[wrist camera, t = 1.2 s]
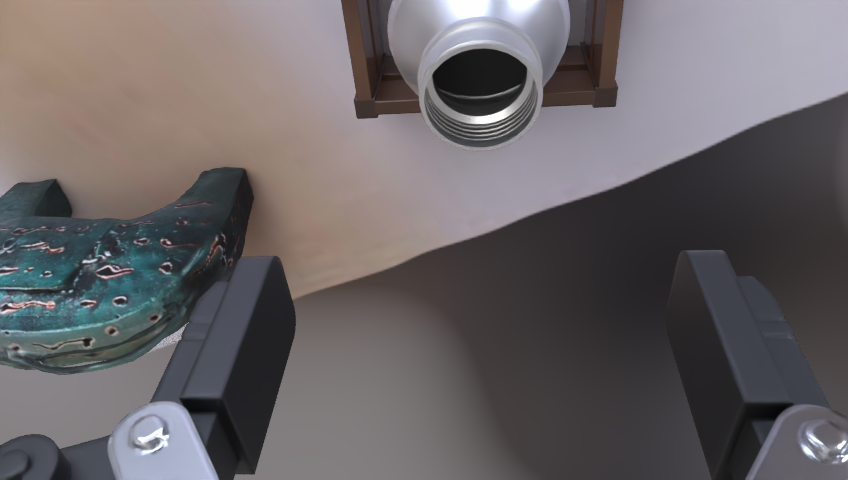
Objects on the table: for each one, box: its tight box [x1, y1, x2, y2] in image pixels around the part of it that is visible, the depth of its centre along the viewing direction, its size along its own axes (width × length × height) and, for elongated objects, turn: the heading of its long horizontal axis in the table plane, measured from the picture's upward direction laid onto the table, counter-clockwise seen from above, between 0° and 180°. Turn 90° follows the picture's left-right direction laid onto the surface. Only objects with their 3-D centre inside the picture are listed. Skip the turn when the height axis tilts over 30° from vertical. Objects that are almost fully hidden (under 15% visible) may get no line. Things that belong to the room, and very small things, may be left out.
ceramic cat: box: [0, 167, 254, 375], centre depth 40 cm, size 20×6×20 cm, turn 97°
